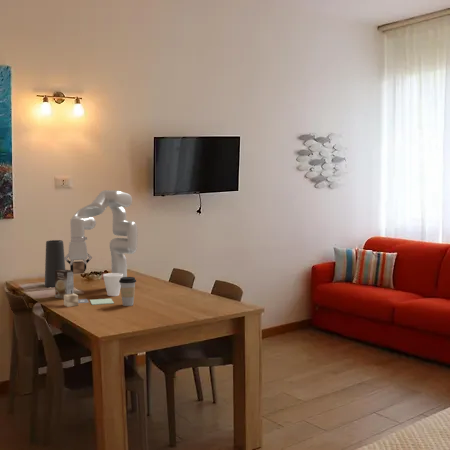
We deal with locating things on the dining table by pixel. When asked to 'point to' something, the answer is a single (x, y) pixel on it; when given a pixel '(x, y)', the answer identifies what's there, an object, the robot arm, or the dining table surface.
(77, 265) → the walnut block
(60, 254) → the vase
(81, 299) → the tile
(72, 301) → the maple block
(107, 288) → the cup
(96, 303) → the mat
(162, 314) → the dining table surface
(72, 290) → the coffee box
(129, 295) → the coffee cup
